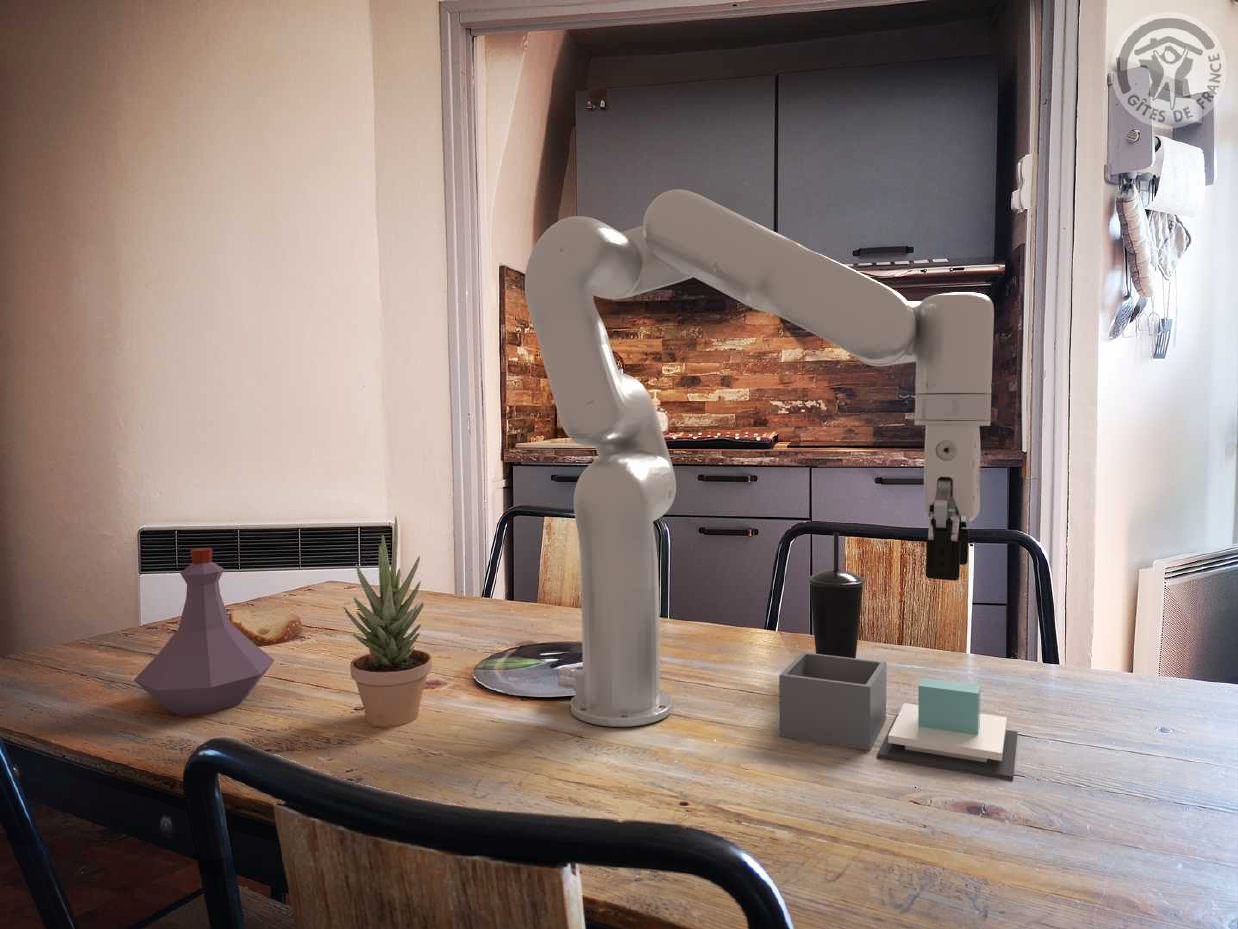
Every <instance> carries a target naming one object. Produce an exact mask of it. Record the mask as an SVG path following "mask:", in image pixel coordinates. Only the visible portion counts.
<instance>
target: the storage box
mask: <svg viewBox="0 0 1238 929" xmlns="http://www.w3.org/2000/svg"><path fill="white" fill-rule="evenodd" d="M778 675H779V678H778V679H779V681H778V684H779V688H778V689H779V692H778V693H779V695H778V696H779V698H778V699H779V702H778V703H779V705H778V706H779V713H778V714H779V715H778V716H779V720H778V721H779V723H778V724H779V726H778V727H779V737H784V738H789V739H796V740H801V741H802V740H803V741H808V742H814V743H821V744H825V745H826V744H828V745H832V746H833V745H834V746H840V747H844V748H850V749H851V748H852V749H857V750H864V751H869V752H870V751H871V750H872V748H873V746H874V744H875V742H876V741H877V738H878V737H879V734H880V733H881V731H882V729H883V727H884V725H885V723H886V722H887V661H880V660H872V659H864V658H857V657H856V658H848V657H839V656H831V655H822V654H816V653H812V652H806V651H805V652H801V653H800V654H799V655H797V657H796V658H795V659H794V660H793V661H792V662H791V663H790V664H788V666H787V667H786V668H785V669H783V671H782V672H780V674H778Z"/></svg>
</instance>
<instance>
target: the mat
mask: <svg viewBox="0 0 1238 929" xmlns="http://www.w3.org/2000/svg"><path fill="white" fill-rule="evenodd" d="M898 715H899V713H897V714H896V715H895V717H894V719H893V721H892V723H891V725H890V727H889V729H888V731H887V734H886V735H885V737H884V739H883V741H882V744H881V745H880V748H879V749H878V750H877V753H876V758H878V759H884V760H890V761H896V762H901V763H902V762H903V763H908V764H913V765H919V766H925V767H932V768H937V769H943V770H950V771H953V772H954V771H956V772H962V773H968V774H971V775H972V774H973V775H978V776H984V777H991V778H992V777H993V778H997V779H1003V780H1008V781H1009V780H1010V781H1013V779H1014V773H1015V772H1014V771H1015V769H1014V768H1015V761H1016V751H1017V750H1016V749H1017V741H1018V731H1017V730H1010V729H1006V734H1005V741H1004V749H1003V756H1002V761H1000V760H993V759H987V762H981V761H975V760H969V759H962V758H956V757H950V756H944V755H938V754H931V753H925V752H919V751H913V750H907V749H905V745H899V744H893V743H888V735H889V733H890V731H891V729H892V727H893V725H894V723H895V721H896V719H897V717H898Z"/></svg>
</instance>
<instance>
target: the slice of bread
mask: <svg viewBox="0 0 1238 929" xmlns="http://www.w3.org/2000/svg"><path fill="white" fill-rule="evenodd" d="M228 617H229V620H230V622H231V623H232V624H233V625H234V626H235V627H236V628H237V629H238V630H239V631H240V632H241V633H242V634H243V635H244V636H245V637H247V638H248V639H249V640H250V641H251V642H252V643H254V644H255V645H256V646H258V647H260V646H261V647H269V646H275V645H279V644H285V643H287V642H290V640H291V639H293V638H295V637H298V636H299V635H301V633H302V632H303V625H302V622H301V617H300V616H299V615H297V614H295V613H288V612H285V611H284V612H283V611H278V610H277V611H276V610H268V609H267V610H264V609H262V610H261V609H235V610H232V611H231V612H230V614H229V615H228Z"/></svg>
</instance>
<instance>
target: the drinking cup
mask: <svg viewBox="0 0 1238 929" xmlns="http://www.w3.org/2000/svg"><path fill="white" fill-rule="evenodd" d="M839 536H840V533H839V532H833V568H832V569H826V570H822V571H819V572H817V573H815V574H813V575H810V576H808V577H807V582H808V584H809V590H810V603H811V612H812V614H811V615H812V625H813V635H814V636H813V637H814V645H815V647H814V648H815V654H822V655H831V656H839V657H848V658H856V659H857V652H858V651H857V650H858V641H859V640H858V639H859V632H860V631H859V630H860V618H861V611H862V610H861V608H862V600H863V599H862V598H863V590H864V589H863V588H864V586H865V585H866V579H865V578H863V577H861V576H859V575H857V574H855V573H853V572H851V571H848V570H845V569H840V564H839V563H840V561H839V560H840V549H839V548H840V546H839V545H840V544H839V543H840V540H839V539H840V537H839Z"/></svg>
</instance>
